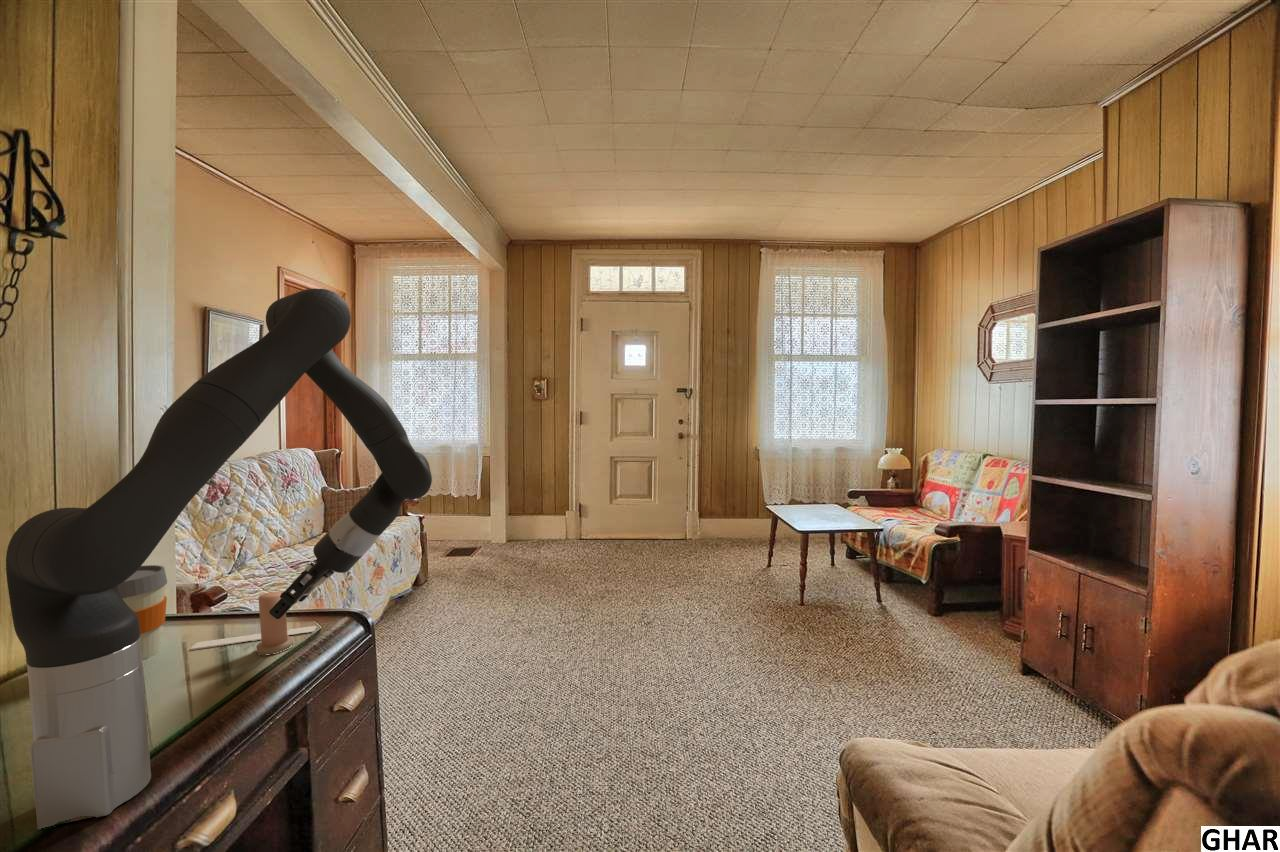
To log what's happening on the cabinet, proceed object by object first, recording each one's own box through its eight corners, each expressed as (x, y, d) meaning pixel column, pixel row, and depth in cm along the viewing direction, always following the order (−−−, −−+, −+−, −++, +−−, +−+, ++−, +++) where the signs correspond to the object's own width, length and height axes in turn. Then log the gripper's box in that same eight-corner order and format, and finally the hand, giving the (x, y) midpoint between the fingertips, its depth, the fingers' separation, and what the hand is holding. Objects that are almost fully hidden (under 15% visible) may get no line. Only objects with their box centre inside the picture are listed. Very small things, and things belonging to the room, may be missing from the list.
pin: (288, 652, 102) (285, 597, 101) (252, 658, 100) (248, 602, 100) (296, 640, 107) (293, 588, 107) (262, 645, 105) (258, 592, 105)
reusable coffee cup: (159, 663, 99) (153, 578, 99) (64, 680, 94) (56, 591, 93) (181, 636, 111) (175, 561, 110) (96, 651, 105) (90, 571, 105)
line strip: (313, 632, 110) (312, 631, 110) (190, 650, 104) (190, 648, 104) (316, 627, 113) (316, 625, 113) (197, 644, 107) (196, 642, 107)
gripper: (347, 519, 111) (288, 581, 110) (315, 536, 97) (247, 607, 96) (377, 544, 112) (319, 605, 111) (349, 565, 98) (283, 635, 97)
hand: (286, 606), depth 104 cm, fingers open, 8 cm apart
